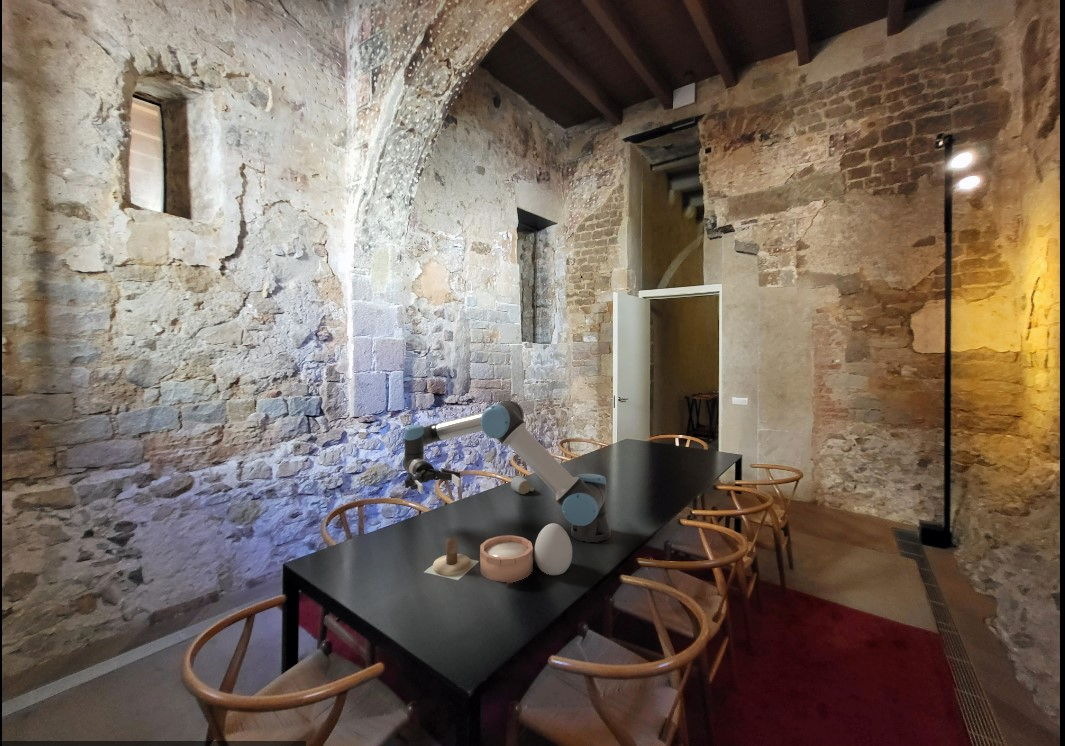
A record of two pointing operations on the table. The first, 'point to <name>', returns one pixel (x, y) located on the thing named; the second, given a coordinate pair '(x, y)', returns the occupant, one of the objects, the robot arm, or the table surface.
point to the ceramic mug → (521, 485)
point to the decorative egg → (553, 550)
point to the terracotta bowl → (506, 558)
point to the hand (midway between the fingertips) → (441, 486)
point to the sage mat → (456, 577)
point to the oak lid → (451, 560)
